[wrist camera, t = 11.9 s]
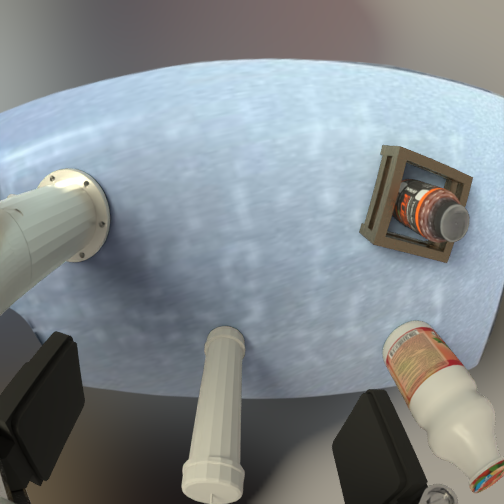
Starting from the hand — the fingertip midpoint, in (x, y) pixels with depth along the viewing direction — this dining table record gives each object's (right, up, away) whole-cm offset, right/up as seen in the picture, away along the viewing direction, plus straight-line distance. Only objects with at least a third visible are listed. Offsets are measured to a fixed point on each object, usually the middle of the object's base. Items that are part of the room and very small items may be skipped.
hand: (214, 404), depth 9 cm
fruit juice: (+26, -10, +36) cm, 45 cm away
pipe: (-2, -8, +35) cm, 36 cm away
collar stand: (+21, +11, +28) cm, 37 cm away
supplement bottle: (+21, +11, +29) cm, 37 cm away
